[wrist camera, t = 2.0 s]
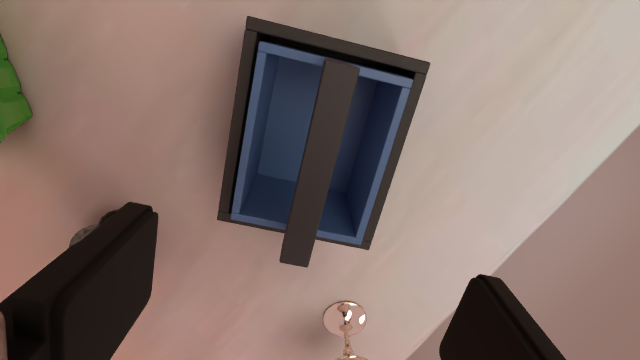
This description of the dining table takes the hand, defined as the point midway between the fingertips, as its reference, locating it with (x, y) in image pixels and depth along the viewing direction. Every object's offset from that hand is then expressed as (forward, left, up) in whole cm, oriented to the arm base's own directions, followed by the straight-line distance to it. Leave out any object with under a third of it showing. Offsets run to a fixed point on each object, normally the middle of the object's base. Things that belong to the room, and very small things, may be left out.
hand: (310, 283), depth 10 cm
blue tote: (-1, 0, -19) cm, 19 cm away
